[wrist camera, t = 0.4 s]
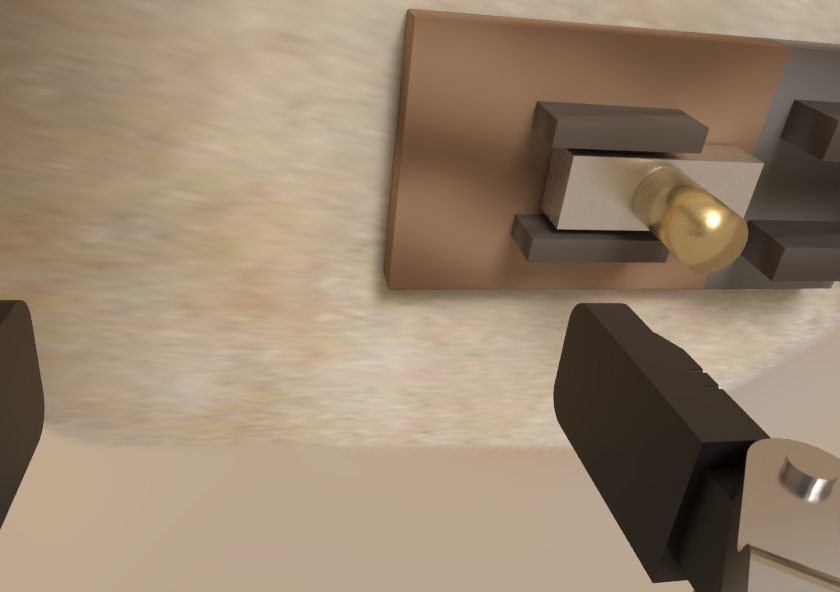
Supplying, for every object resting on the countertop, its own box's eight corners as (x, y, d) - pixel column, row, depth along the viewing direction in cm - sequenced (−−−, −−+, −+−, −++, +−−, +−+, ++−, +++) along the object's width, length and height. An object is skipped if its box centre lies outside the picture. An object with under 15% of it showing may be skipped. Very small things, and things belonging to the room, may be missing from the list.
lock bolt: (555, 137, 28) (619, 200, 23) (735, 145, 29) (832, 205, 24) (540, 207, 29) (597, 281, 24) (712, 211, 31) (799, 281, 26)
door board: (407, 8, 26) (430, 33, 22) (911, 50, 30) (995, 76, 27) (383, 272, 31) (398, 325, 28) (811, 273, 36) (869, 318, 32)
